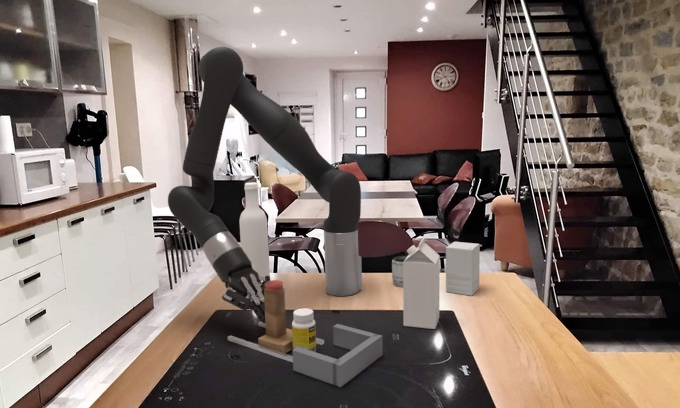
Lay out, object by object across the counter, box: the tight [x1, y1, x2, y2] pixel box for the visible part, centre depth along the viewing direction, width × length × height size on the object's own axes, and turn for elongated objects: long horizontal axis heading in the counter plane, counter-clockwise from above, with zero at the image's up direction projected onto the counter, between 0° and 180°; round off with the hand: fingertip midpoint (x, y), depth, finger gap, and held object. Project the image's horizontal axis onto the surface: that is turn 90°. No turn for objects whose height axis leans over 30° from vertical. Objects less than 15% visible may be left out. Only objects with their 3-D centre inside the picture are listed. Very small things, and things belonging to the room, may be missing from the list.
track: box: [227, 320, 325, 364], centre depth 100 cm, size 10×18×1 cm, turn 54°
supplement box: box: [445, 241, 481, 297], centre depth 128 cm, size 7×7×13 cm
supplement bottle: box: [291, 307, 317, 353], centre depth 95 cm, size 5×5×8 cm
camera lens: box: [391, 255, 408, 288], centre depth 135 cm, size 6×6×8 cm
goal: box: [291, 323, 384, 388], centre depth 90 cm, size 14×11×4 cm
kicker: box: [257, 279, 293, 354], centre depth 98 cm, size 7×7×13 cm
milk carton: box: [402, 237, 441, 330], centre depth 107 cm, size 7×7×19 cm
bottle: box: [239, 181, 271, 278], centre depth 135 cm, size 8×8×30 cm
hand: (268, 320), depth 100 cm, fingers closed
